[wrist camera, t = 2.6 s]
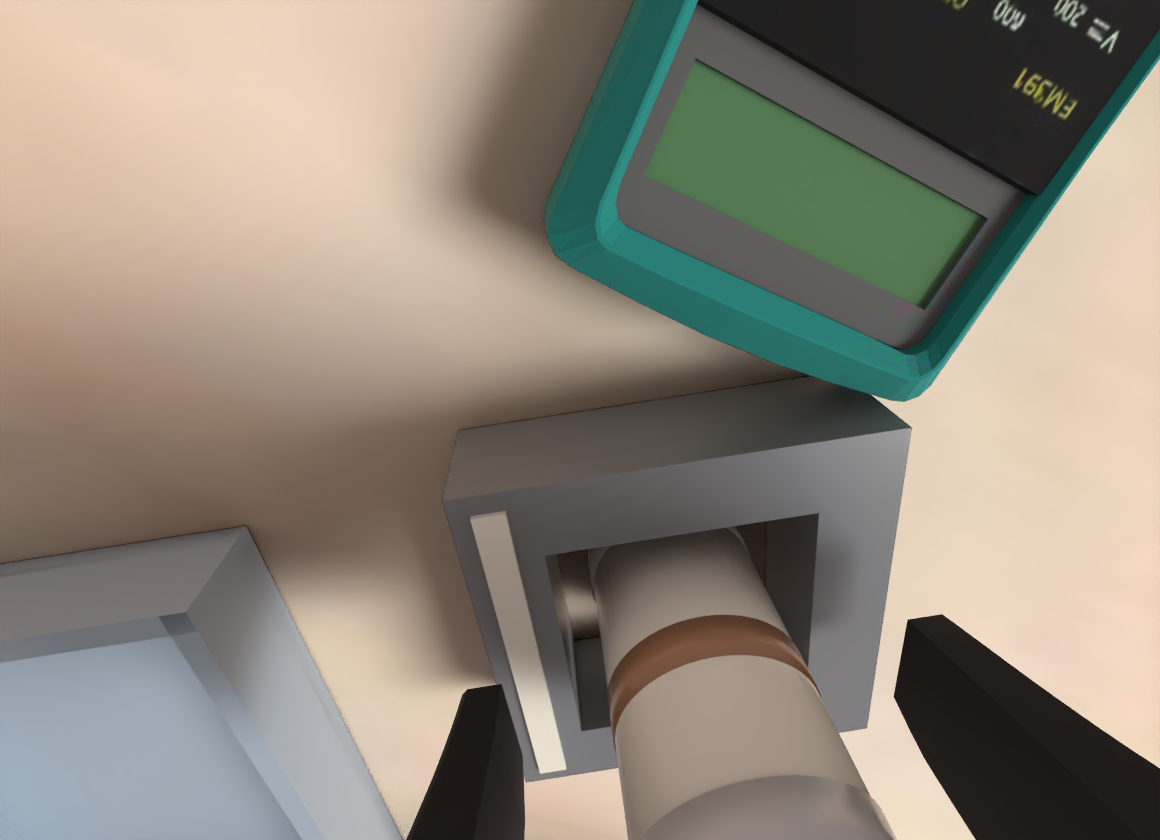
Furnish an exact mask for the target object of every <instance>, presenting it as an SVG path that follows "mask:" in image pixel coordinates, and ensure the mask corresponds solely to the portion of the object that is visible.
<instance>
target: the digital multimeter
mask: <svg viewBox="0 0 1160 840" xmlns="http://www.w3.org/2000/svg"><path fill="white" fill-rule="evenodd" d="M1159 59H1160V0H634V2H633V4H632V6H631V9H630V11H629V13H628V15H627V18H626V20H625V22H624V25H623V27H622V29H621V32H620V34H619V36H618V39H617V41H616V43H615V46H614V48H613V50H612V52H611V55H610V57H609V59H608V62H607V64H606V66H605V69H604V71H603V73H602V76H601V78H600V80H599V83H598V85H597V87H596V89H595V92H594V94H593V96H592V99H591V101H590V103H589V106H588V108H587V110H586V113H585V115H584V117H583V119H582V122H581V124H580V126H579V129H578V131H577V133H576V136H575V138H574V140H573V143H572V145H571V147H570V150H569V152H568V154H567V156H566V159H565V161H564V163H563V166H562V168H561V170H560V173H559V175H558V177H557V180H556V182H555V184H554V187H553V189H552V191H551V193H550V196H549V198H548V200H547V203H546V207H545V216H544V223H545V228H546V233H547V238H548V240H549V242H550V245H551V247H552V250H553V252H554V255H556V256H557V257H558V258H559V259H561V260H562V261H563V262H565V263H566V264H567V265H568V266H570V267H572V268H574V269H576V270H578V271H580V272H582V273H583V274H585V275H587V276H589V277H591V278H593V279H595V280H597V281H599V282H601V283H602V284H604V285H606V286H608V287H610V288H612V289H614V290H616V291H618V292H620V293H621V294H623V295H625V296H627V297H629V298H631V299H633V300H635V301H637V302H639V303H641V304H643V305H645V306H647V307H649V308H651V309H653V310H655V311H657V312H659V313H661V314H663V315H665V316H667V317H669V318H671V319H673V320H676V321H678V322H680V323H682V324H684V325H686V326H688V327H690V328H692V329H694V330H696V331H698V332H700V333H702V334H704V335H706V336H709V337H711V338H714V339H716V340H719V341H721V342H723V343H726V344H728V345H731V346H733V347H735V348H738V349H740V350H743V351H745V352H748V353H750V354H752V355H755V356H757V357H760V358H762V359H765V360H767V361H769V362H772V363H775V364H778V365H781V366H784V367H787V368H790V369H793V370H796V371H799V372H802V373H805V374H808V375H810V376H813V377H816V378H819V379H822V380H825V381H828V382H831V383H834V384H838V385H841V386H844V387H848V388H851V389H854V390H858V391H861V392H864V393H868V394H871V395H874V396H878V397H881V398H884V399H888V400H892V401H902V402H905V401H908V400H910V399H913V398H916V397H918V396H920V395H921V394H922V393H923V392H924V391H925V390H926V389H927V388H928V387H930V386H931V384H932V383H933V382H934V380H935V379H936V377H937V376H938V374H939V373H940V371H941V370H942V369H943V367H944V366H945V364H946V363H947V361H948V360H949V358H950V357H951V356H952V354H953V353H954V351H955V350H956V348H957V347H958V345H959V344H960V342H961V341H962V340H963V338H964V337H965V335H966V334H967V332H968V331H969V329H970V328H971V327H972V325H973V324H974V322H975V321H976V319H977V318H978V316H979V315H980V314H981V312H982V311H983V309H984V308H985V306H986V305H987V303H988V302H989V300H990V299H991V298H992V296H993V295H994V293H995V292H996V290H997V289H998V287H999V286H1000V285H1001V283H1002V282H1003V280H1004V279H1005V277H1006V276H1007V274H1008V273H1009V272H1010V270H1011V269H1012V267H1013V266H1014V264H1015V263H1016V261H1017V260H1018V258H1019V257H1020V256H1021V254H1022V253H1023V251H1024V250H1025V248H1026V247H1027V245H1028V244H1029V243H1030V241H1031V240H1032V238H1033V237H1034V235H1035V234H1036V232H1037V231H1038V230H1039V228H1040V227H1041V225H1042V224H1043V222H1044V221H1045V219H1046V218H1047V216H1048V215H1049V214H1050V212H1051V211H1052V209H1053V208H1054V206H1055V205H1056V203H1057V202H1058V201H1059V199H1060V198H1061V196H1062V195H1063V193H1064V192H1065V190H1066V189H1067V188H1068V186H1069V185H1070V183H1071V182H1072V180H1073V179H1074V177H1075V176H1076V175H1077V173H1078V172H1079V170H1080V169H1081V167H1082V166H1083V165H1084V163H1085V162H1086V160H1087V159H1088V158H1089V156H1090V155H1091V153H1092V152H1093V151H1094V149H1095V148H1096V146H1097V145H1098V143H1099V142H1100V141H1101V139H1102V138H1103V137H1104V135H1105V134H1106V132H1107V131H1108V130H1109V128H1110V127H1111V126H1112V124H1113V123H1114V121H1115V120H1116V119H1117V117H1118V116H1119V114H1120V113H1121V112H1122V110H1123V109H1124V108H1125V106H1126V105H1127V103H1128V102H1129V101H1130V99H1131V98H1132V97H1133V95H1134V94H1135V92H1136V91H1137V90H1138V88H1139V87H1140V85H1141V84H1142V83H1143V81H1144V80H1145V79H1146V77H1147V76H1148V74H1149V73H1150V72H1151V70H1152V69H1153V67H1154V66H1155V65H1156V63H1157V62H1158V61H1159ZM870 336H871V337H870ZM872 337H873V338H872ZM874 338H875V339H874Z"/></svg>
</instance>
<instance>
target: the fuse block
mask: <svg viewBox="0 0 1160 840" xmlns="http://www.w3.org/2000/svg"><path fill="white" fill-rule="evenodd" d="M911 430H912V427H910V426H909V425H908V424H907V423H905V422H904V421H903V420H902V419H900V418H899V417H898V416H897V415H895V414H894V413H893V412H892V411H890V410H889V409H888V408H887V407H885V406H884V405H883V404H882V403H880V402H879V401H878V400H877V399H875V398H874V397H873V396H872V395H870V394H868V393H864V392H861V391H858V390H854V389H851V388H848V387H844V386H841V385H838V384H834V383H831V382H828V381H825V380H822V379H819V378H816V377H813V376H808V377H801V378H795V379H788V380H782V381H775V382H769V383H762V384H756V385H749V386H743V387H737V388H730V389H724V390H717V391H711V392H704V393H698V394H691V395H685V396H678V397H672V398H665V399H659V400H653V401H646V402H640V403H633V404H627V405H620V406H614V407H607V408H601V409H594V410H588V411H581V412H575V413H569V414H562V415H556V416H549V417H543V418H536V419H530V420H523V421H517V422H510V423H504V424H497V425H491V426H485V427H478V428H472V429H465V430H459V431H458V434H457V438H456V442H455V447H454V451H453V455H452V460H451V464H450V468H449V472H448V477H447V481H446V485H445V490H444V494H443V498H442V503H443V506H444V509H445V513H446V516H447V520H448V523H449V526H450V530H451V533H452V536H453V540H454V543H455V546H456V550H457V553H458V556H459V560H460V563H461V567H462V570H463V573H464V577H465V580H466V583H467V587H468V590H469V593H470V597H471V600H472V604H473V607H474V610H475V614H476V617H477V620H478V624H479V627H480V630H481V634H482V637H483V640H484V644H485V647H486V651H487V654H488V657H489V661H490V664H491V667H492V671H493V674H494V677H495V681H496V684H497V685H498V684H502V687H503V690H504V693H505V697H506V700H507V704H508V707H509V710H510V714H511V717H512V721H513V724H514V728H515V731H516V734H517V738H518V741H519V745H520V748H521V751H522V755H523V775H524V778H525V781H526V782H532V781H539V780H545V779H551V778H557V777H564V776H570V775H576V774H583V773H589V772H595V771H601V770H608V769H614V768H619V767H618V760H617V755H616V752H615V748H614V744H613V736H612V729H611V721H610V714H609V707H608V695H607V694H608V687H607V680H606V672H605V665H604V658H603V650H602V643H601V637H597V638H590V639H584V640H578V641H574V640H573V634H572V629H571V624H570V619H569V614H568V609H567V604H566V599H565V594H564V589H563V583H562V578H561V573H560V568H559V563H558V558H557V554H560V553H566V552H573V551H579V550H585V549H592V548H598V547H605V546H611V545H617V544H624V543H630V542H637V541H643V540H649V539H656V538H662V537H668V536H675V535H681V534H688V533H694V532H700V531H707V530H713V529H720V528H726V527H732V526H739V525H745V524H752V523H758V522H764V521H767V549H766V591H767V593H768V595H769V596H770V598H771V600H772V602H773V604H774V606H775V608H776V610H777V612H778V614H779V616H780V618H781V620H782V622H783V624H784V626H785V628H786V630H787V632H788V634H789V636H790V638H791V640H792V641H793V642H794V644H795V645H796V646H797V648H798V650H799V652H800V654H801V656H802V658H803V660H804V662H805V664H806V666H807V668H808V670H809V672H810V674H811V676H812V677H813V679H814V681H815V683H816V685H817V687H818V690H819V692H820V694H821V698H822V701H823V703H824V705H825V707H826V709H827V711H828V713H829V715H830V717H831V719H832V721H833V723H834V725H835V727H836V729H837V731H838V733H840V732H847V731H853V730H859V729H866V728H867V724H868V718H869V711H870V704H871V698H872V691H873V684H874V678H875V671H876V664H877V657H878V651H879V644H880V637H881V631H882V624H883V617H884V611H885V604H886V597H887V591H888V584H889V577H890V571H891V564H892V557H893V551H894V544H895V537H896V530H897V524H898V517H899V510H900V504H901V497H902V490H903V484H904V477H905V470H906V464H907V457H908V450H909V444H910V437H911Z"/></svg>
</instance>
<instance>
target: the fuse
mask: <svg viewBox="0 0 1160 840" xmlns="http://www.w3.org/2000/svg"><path fill="white" fill-rule="evenodd" d="M588 563H589V571H590V578H591V586H592V593H593V597H594V600H595V602H596V606H597V614H598V621H599V628H600V636H601V643H602V650H603V658H604V665H605V672H606V680H607V687H608V694H607V695H608V707H609V714H610V721H611V729H612V736H613V744H614V748H615V752H616V755H617V760H618V767H619V775H620V782H621V789H622V797H623V804H624V811H625V819H626V826H627V833H628V840H897V839H896V837H895V835H894V833H893V831H892V829H891V827H890V825H889V823H888V821H887V819H886V818H885V816H884V814H883V812H882V810H881V808H880V807H879V805H878V804H877V803H876V801H875V800H874V799H872V798H871V796H870V794H869V792H868V790H867V788H866V786H865V784H864V782H863V780H862V779H861V777H860V775H859V773H858V771H857V769H856V767H855V765H854V763H853V761H852V759H851V757H850V755H849V753H848V751H847V749H846V747H845V745H844V743H843V741H842V739H841V737H840V735H839V733H838V731H837V729H836V727H835V725H834V723H833V721H832V719H831V717H830V715H829V713H828V711H827V709H826V707H825V705H824V703H823V701H822V698H821V694H820V692H819V690H818V687H817V685H816V683H815V681H814V679H813V677H812V676H811V674H810V672H809V670H808V668H807V666H806V664H805V662H804V660H803V658H802V656H801V654H800V652H799V650H798V648H797V646H796V645H795V644H794V642H793V641H792V640H791V638H790V636H789V634H788V632H787V630H786V628H785V626H784V624H783V622H782V620H781V618H780V616H779V614H778V612H777V610H776V608H775V606H774V604H773V602H772V600H771V598H770V596H769V595H768V593H767V591H766V589H765V587H764V585H763V583H762V581H761V579H760V577H759V575H758V573H757V571H756V569H755V567H754V565H753V563H752V561H751V557H750V553H749V550H748V548H747V546H746V544H745V542H744V540H743V538H742V536H741V534H740V532H739V530H738V528H737V526H732V527H726V528H720V529H713V530H707V531H700V532H694V533H688V534H681V535H675V536H668V537H662V538H656V539H649V540H643V541H637V542H630V543H624V544H617V545H611V546H605V547H598V548H592V549H588Z"/></svg>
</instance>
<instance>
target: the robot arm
mask: <svg viewBox="0 0 1160 840" xmlns="http://www.w3.org/2000/svg"><path fill="white" fill-rule="evenodd" d="M894 698H895V700H896V702H897V704H898V706H899V708H900V710H901V713H902V715H903V717H904V719H905V721H906V723H907V725H908V727H909V729H910V731H911V733H912V735H913V737H914V739H915V741H916V743H917V745H918V747H919V749H920V751H921V753H922V755H923V757H924V758H925V760H926V762H927V763H928V765H929V766H930V768H931V770H932V771H933V773H934V775H935V776H936V778H937V779H938V781H939V783H940V784H941V786H942V787H943V789H944V790H945V792H946V794H947V795H948V797H949V798H950V800H951V802H952V803H953V805H954V806H955V808H956V809H957V811H958V813H959V814H960V816H961V817H962V819H963V820H964V822H965V824H966V825H967V827H968V828H969V830H970V831H971V833H972V835H973V836H974V838H975V839H976V840H1160V768H1158V767H1157V766H1155V765H1154V764H1152V763H1151V762H1149V761H1148V760H1146V759H1145V758H1143V757H1141V756H1140V755H1138V754H1137V753H1135V752H1134V751H1132V750H1131V749H1129V748H1128V747H1126V746H1125V745H1123V744H1122V743H1120V742H1119V741H1117V740H1116V739H1114V738H1113V737H1112V736H1110V735H1109V734H1107V733H1106V732H1104V731H1103V730H1101V729H1100V728H1098V727H1097V726H1095V725H1094V724H1093V723H1091V722H1090V721H1088V720H1087V719H1085V718H1084V717H1083V716H1081V715H1080V714H1078V713H1077V712H1075V711H1074V710H1073V709H1071V708H1070V707H1068V706H1067V705H1065V704H1064V703H1063V702H1061V701H1060V700H1058V699H1057V698H1056V697H1054V696H1053V695H1051V694H1050V693H1049V692H1047V691H1046V690H1044V689H1043V688H1042V687H1040V686H1039V685H1037V684H1036V683H1035V682H1033V681H1032V680H1031V679H1029V678H1028V677H1026V676H1025V675H1024V674H1022V673H1021V672H1020V671H1018V670H1017V669H1016V668H1014V667H1013V666H1011V665H1010V664H1009V663H1007V662H1006V661H1005V660H1003V659H1002V658H1001V657H999V656H998V655H997V654H995V653H994V652H992V651H991V650H990V649H988V648H987V647H986V646H984V645H983V644H982V643H980V642H979V641H978V640H976V639H975V638H974V637H972V636H971V635H970V634H968V633H967V632H965V631H964V630H963V629H961V628H960V627H959V626H957V625H956V624H955V623H953V622H952V621H950V620H949V619H948V618H946V617H945V616H944V615H942V614H941V615H935V616H929V617H922V618H916V619H910V620H908V621H907V627H906V632H905V638H904V643H903V649H902V654H901V660H900V665H899V671H898V676H897V682H896V687H895V693H894ZM524 830H525V805H524V776H523V755H522V751H521V748H520V745H519V741H518V738H517V734H516V731H515V728H514V724H513V721H512V717H511V714H510V710H509V707H508V704H507V700H506V697H505V693H504V690H503V687H502V684H498V685H492V686H486V687H479V688H473V689H467V690H466V691H465V693H464V694H463V695H462V698H461V701H460V704H459V707H458V710H457V713H456V716H455V719H454V722H453V725H452V728H451V731H450V734H449V736H448V739H447V742H446V745H445V747H444V750H443V753H442V755H441V758H440V760H439V763H438V765H437V768H436V771H435V773H434V776H433V778H432V781H431V783H430V785H429V788H428V790H427V793H426V795H425V797H424V800H423V802H422V804H421V807H420V809H419V811H418V814H417V816H416V819H415V821H414V823H413V826H412V828H411V830H410V832H409V835H408V837H407V839H406V840H524Z"/></svg>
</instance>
